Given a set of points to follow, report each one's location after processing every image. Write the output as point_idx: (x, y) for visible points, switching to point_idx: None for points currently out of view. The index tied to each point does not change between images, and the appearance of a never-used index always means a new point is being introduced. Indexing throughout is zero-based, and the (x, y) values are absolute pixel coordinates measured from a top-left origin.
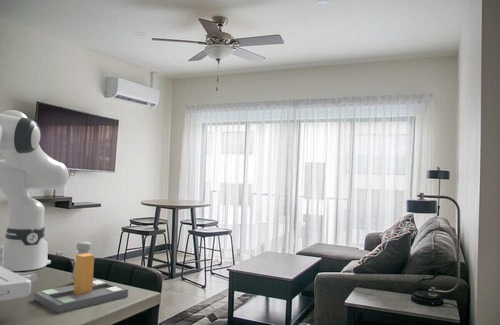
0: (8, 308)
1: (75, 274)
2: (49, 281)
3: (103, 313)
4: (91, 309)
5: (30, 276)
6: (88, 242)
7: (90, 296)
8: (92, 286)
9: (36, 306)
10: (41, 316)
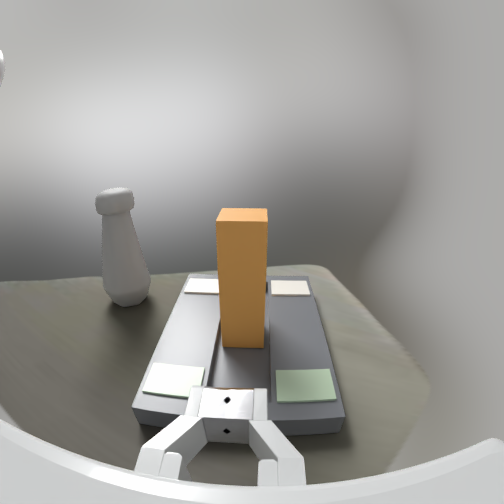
0: None
1: (222, 291)
2: (52, 320)
3: (398, 354)
4: (355, 363)
5: (268, 424)
6: (124, 188)
7: (312, 334)
8: None
9: (210, 453)
10: (336, 477)
